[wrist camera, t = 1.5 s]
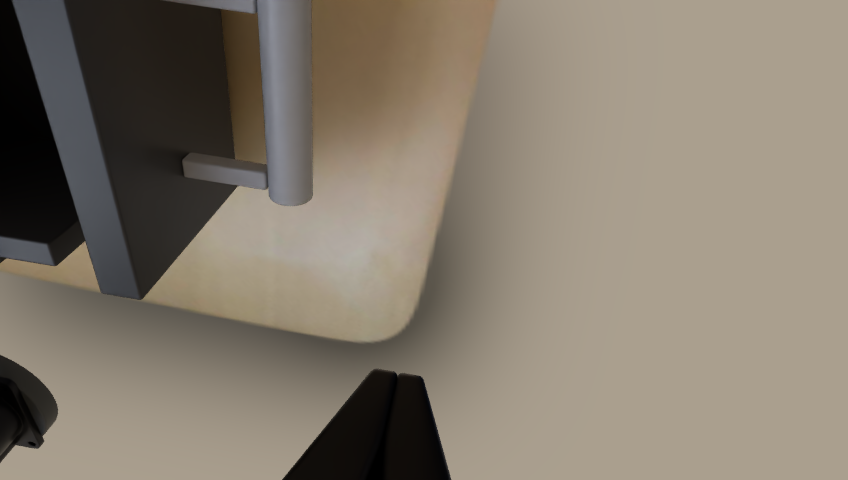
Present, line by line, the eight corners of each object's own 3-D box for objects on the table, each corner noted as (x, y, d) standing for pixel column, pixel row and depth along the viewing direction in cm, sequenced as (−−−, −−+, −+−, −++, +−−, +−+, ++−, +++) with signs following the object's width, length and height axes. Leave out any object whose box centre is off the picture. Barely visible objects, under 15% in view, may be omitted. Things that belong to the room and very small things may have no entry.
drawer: (345, -121, 14) (249, -119, 9) (338, 202, 20) (277, 324, 15) (-225, -201, 15) (-647, -245, 9) (-73, 136, 21) (-280, 230, 15)
